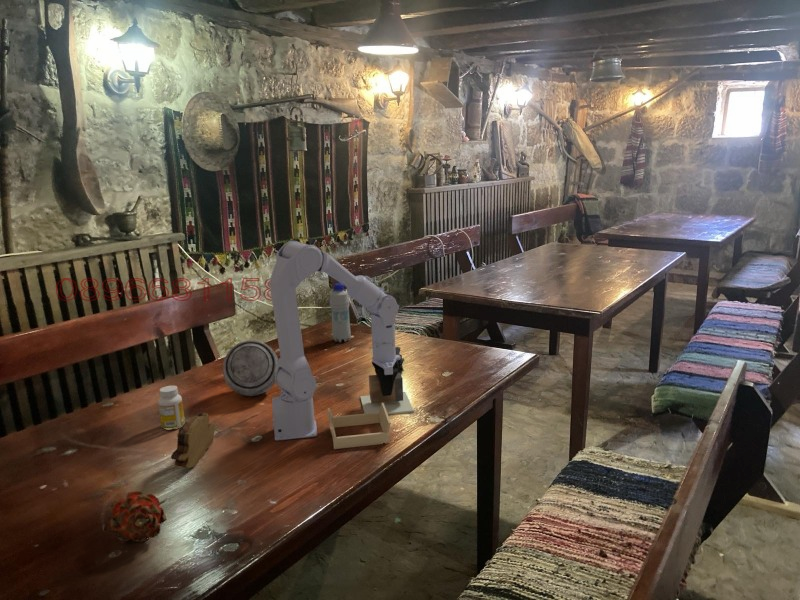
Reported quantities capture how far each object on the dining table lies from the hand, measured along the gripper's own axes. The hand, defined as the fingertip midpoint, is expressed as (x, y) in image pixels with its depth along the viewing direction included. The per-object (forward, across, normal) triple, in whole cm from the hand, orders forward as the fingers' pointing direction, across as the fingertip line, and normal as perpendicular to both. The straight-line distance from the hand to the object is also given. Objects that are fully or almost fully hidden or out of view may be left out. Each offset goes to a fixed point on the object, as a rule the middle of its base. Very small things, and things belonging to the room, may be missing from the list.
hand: (385, 391), depth 153 cm
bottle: (+4, +57, +7) cm, 58 cm away
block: (+2, 0, 0) cm, 2 cm away
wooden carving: (+4, -19, +44) cm, 48 cm away
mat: (+4, 0, 0) cm, 4 cm away
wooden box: (+4, -15, +8) cm, 18 cm away
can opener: (+4, +27, -7) cm, 28 cm away
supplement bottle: (+4, 0, +52) cm, 52 cm away
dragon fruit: (+4, -44, +50) cm, 67 cm away
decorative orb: (+4, +16, +34) cm, 38 cm away
